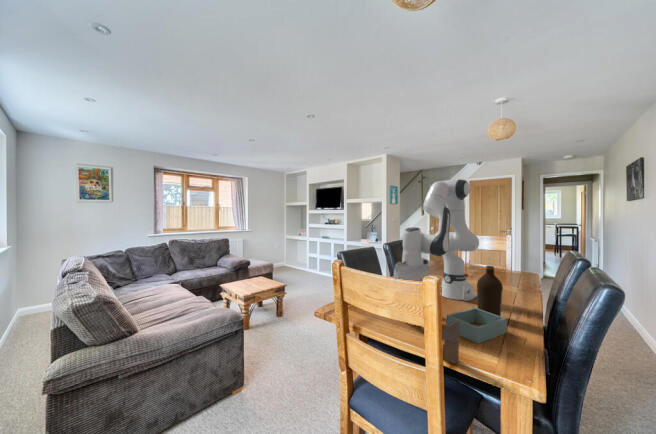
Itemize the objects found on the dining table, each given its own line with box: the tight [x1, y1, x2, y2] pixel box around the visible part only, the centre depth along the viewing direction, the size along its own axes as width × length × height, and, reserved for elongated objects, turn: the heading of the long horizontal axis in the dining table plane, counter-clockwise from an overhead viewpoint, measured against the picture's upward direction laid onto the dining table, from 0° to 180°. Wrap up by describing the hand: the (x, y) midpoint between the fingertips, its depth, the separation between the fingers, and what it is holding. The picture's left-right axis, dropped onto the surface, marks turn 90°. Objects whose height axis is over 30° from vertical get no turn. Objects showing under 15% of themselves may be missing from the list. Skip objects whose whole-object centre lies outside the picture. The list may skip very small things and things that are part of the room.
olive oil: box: [476, 265, 504, 317], centre depth 124 cm, size 11×11×25 cm
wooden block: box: [441, 320, 460, 365], centre depth 90 cm, size 4×11×18 cm, turn 38°
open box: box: [446, 307, 508, 344], centre depth 110 cm, size 20×14×6 cm
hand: (411, 289), depth 124 cm, fingers closed on lid, 3 cm apart
